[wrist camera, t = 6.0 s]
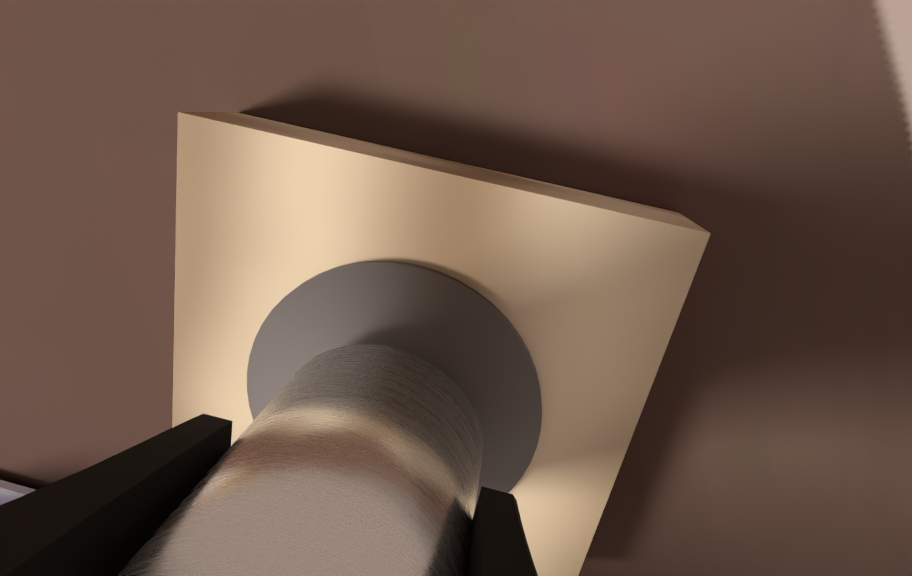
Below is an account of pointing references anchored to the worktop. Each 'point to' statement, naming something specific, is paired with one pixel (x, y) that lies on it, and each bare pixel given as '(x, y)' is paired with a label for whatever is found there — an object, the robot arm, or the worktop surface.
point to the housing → (336, 479)
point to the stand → (429, 298)
